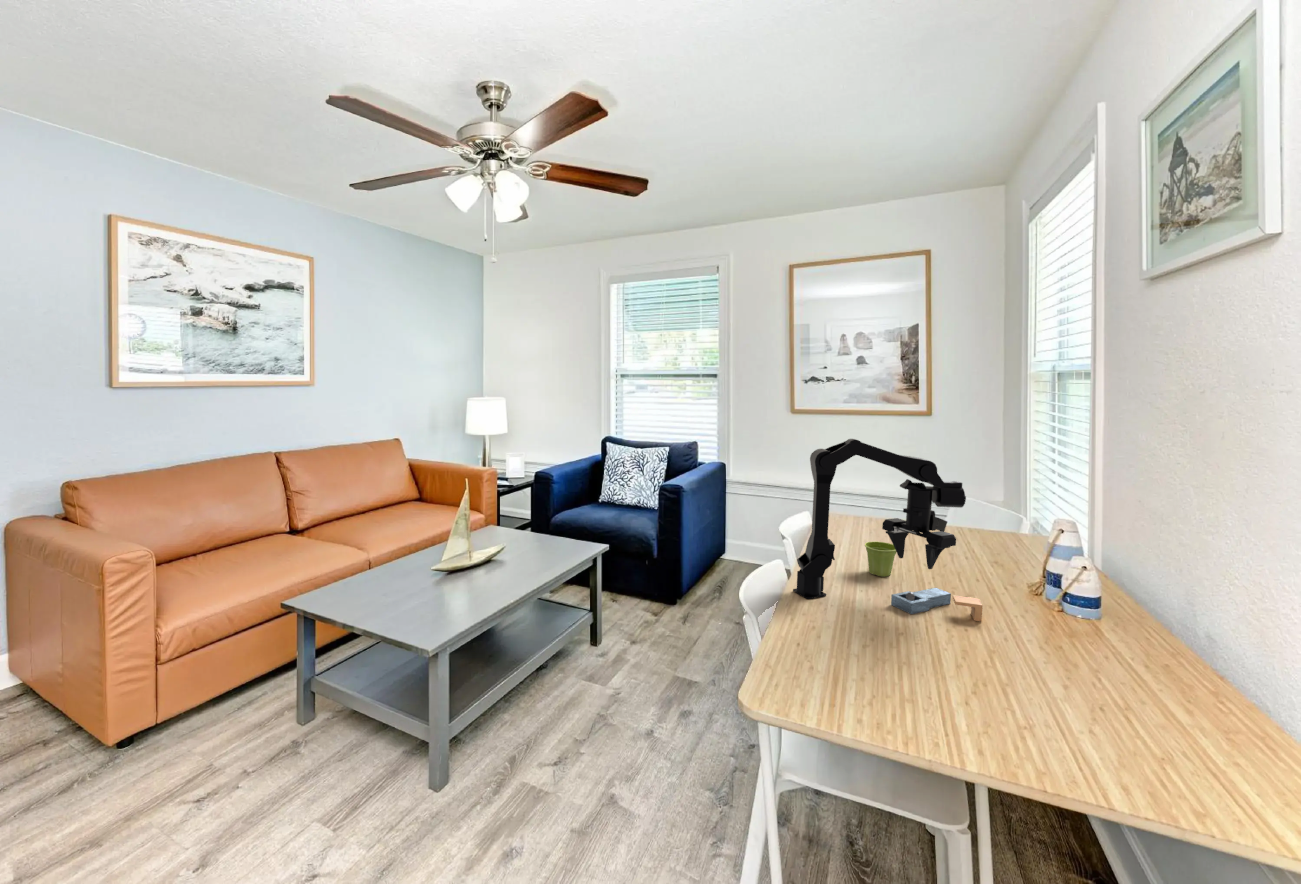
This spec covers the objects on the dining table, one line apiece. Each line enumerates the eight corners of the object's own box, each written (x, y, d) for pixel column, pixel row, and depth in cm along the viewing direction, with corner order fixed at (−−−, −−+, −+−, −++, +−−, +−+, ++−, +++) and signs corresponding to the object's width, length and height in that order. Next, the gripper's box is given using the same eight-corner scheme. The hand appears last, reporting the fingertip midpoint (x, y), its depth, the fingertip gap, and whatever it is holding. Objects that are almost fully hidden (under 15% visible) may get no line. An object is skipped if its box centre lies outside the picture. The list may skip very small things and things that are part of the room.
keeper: (954, 617, 128) (955, 601, 128) (951, 610, 132) (952, 595, 132) (981, 621, 126) (982, 605, 125) (977, 614, 130) (978, 598, 130)
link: (911, 614, 130) (911, 603, 129) (891, 604, 135) (891, 594, 135) (953, 605, 136) (954, 594, 135) (932, 596, 141) (933, 586, 141)
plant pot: (902, 579, 154) (904, 550, 153) (870, 578, 154) (871, 550, 154) (888, 568, 164) (890, 541, 163) (858, 568, 164) (859, 541, 163)
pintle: (910, 609, 132) (910, 594, 132) (903, 606, 134) (904, 591, 134) (915, 608, 133) (916, 593, 133) (909, 605, 135) (910, 590, 135)
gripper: (973, 511, 132) (969, 571, 133) (912, 497, 149) (908, 550, 150) (941, 514, 127) (937, 576, 129) (882, 499, 145) (879, 554, 146)
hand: (915, 563), depth 139 cm, fingers open, 9 cm apart
